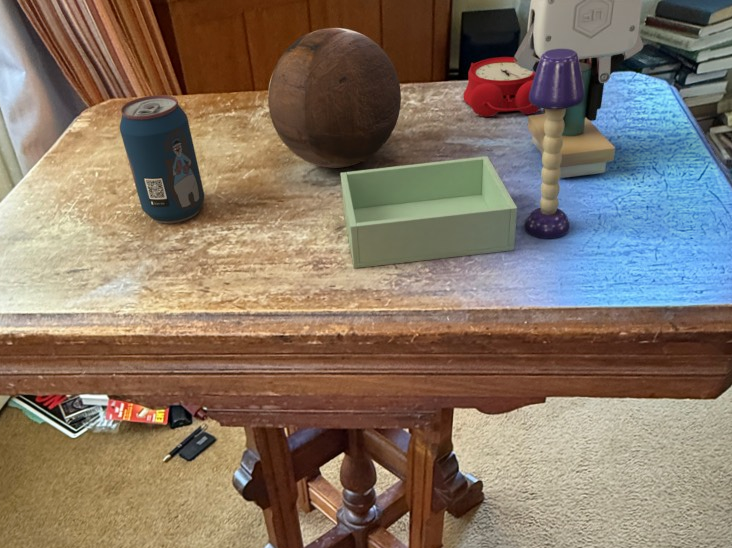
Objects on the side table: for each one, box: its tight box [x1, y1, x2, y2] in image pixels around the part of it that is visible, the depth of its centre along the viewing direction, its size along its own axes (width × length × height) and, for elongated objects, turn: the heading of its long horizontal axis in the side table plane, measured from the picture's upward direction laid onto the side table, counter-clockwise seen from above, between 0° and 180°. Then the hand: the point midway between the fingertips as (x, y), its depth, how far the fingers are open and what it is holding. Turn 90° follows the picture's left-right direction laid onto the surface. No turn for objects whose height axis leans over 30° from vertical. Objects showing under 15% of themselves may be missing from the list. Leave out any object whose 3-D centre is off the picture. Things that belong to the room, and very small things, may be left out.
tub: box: [340, 155, 518, 269], centre depth 71 cm, size 15×11×4 cm
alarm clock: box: [462, 56, 542, 118], centre depth 94 cm, size 10×6×15 cm
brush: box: [527, 62, 616, 179], centre depth 78 cm, size 11×6×10 cm, turn 4°
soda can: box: [119, 94, 205, 224], centre depth 76 cm, size 7×7×12 cm
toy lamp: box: [524, 49, 585, 239], centre depth 65 cm, size 5×5×17 cm
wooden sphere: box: [267, 27, 402, 169], centre depth 81 cm, size 15×15×15 cm
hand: (571, 116), depth 78 cm, fingers closed on brush, 3 cm apart
